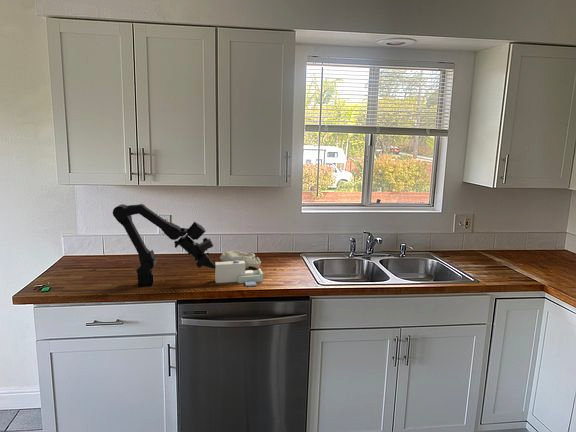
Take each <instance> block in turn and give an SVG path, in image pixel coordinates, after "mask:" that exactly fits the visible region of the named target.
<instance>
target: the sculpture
mask: <svg viewBox="0 0 576 432" xmlns="http://www.w3.org/2000/svg"><path fill="white" fill-rule="evenodd" d="M219 259H220V261H221V262H228V261H234V260H239V261H245V269H249V268H250V267H252V268H255V269H256V268H257V269H258V268H259V267H260V266H261V264H262V261H261V259H260V258H259V256H257V257H256V254H255V253H253V252H242V251H241V250H237V249H232V250H230V251H225V252H222V254H221V255H220V256H219Z"/></svg>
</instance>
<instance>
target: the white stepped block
mask: <svg viewBox="0 0 576 432" xmlns="http://www.w3.org/2000/svg"><path fill="white" fill-rule="evenodd" d="M214 265H215V267H216V268H215V269H214V271H215V272H214V274H215V277H214V278H215V279H214V281H215V283H216V284H223V283H224V284H225V283H238V276H254V273H253V271H254V270H252V269H250V270H249V269H246V268H245V261H239V260H234V261H228V262H224V261H215V262H214Z"/></svg>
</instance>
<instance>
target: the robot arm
mask: <svg viewBox="0 0 576 432" xmlns="http://www.w3.org/2000/svg"><path fill="white" fill-rule="evenodd" d="M134 215H140V216H141V217H144V218H145V220H147V221H149V222H151V223H152V224H153V225H155V226H157V228H159V229H161V231H162V233H164V235H165V236H166V237H168V238H169V239H170V240H171V241H174V248H175V249H177V248H178V246H179V247H181V248H182V249H183V250H184V251H185V252H186V253H187V255H189V256H191V257H192V258H194V260H195V261H196V262H195V263H196V267H197V268H199V269H200V268H202V267H206V268H210V269H212V270H215V268H216V267H215V263H213V261H212V260H211V258H210V254H209V252H207V253H206V251H208V250H209V249H211V248H213V247H214V244H213V242H212V240H211V238H207V237H203V236H202V235H204V234H205V233H206V229H205V228H204V227H203V226H202V224H199V223H198V222H196V221H193V222H192V224H191V225H190V226H189V227H188V228H185V227H180V226H179V225H177V224H176V223H173V222H170V221H167V220H166V219H164V218H163V217H161V216H160V215H158V214H157V213H155V212H154V211H152V209H150V208H149V207H147V206H145V204H144V203H139V204H129V205H127V204H122V203H121V204H119V205H118V206H115V207H114V208H113V209H112V217H114V218H115V220H116V221H117V222H118V224H120V225H122V227H123V228H124V230H125V232H126V234H127V236H128V237H129V239H130V241H131V243H132V245H133V246H134V248H135V250H136V251H137V254H138V255H137V256H138V258H139V259H138V260H139V263H140V265H139V266H138V267H137V268H136V274H137V287H138V288H139V287H153V285H154V283H155V274H154V273H153V268H154V267H155V265H156V264H157V261H158V260H157V255H156V254H155V252H154V249H151V250H150V249H148V248H147V246H146V244H145V242H144V241H143V238H142V237H141V235H140V233H139V231H138V229H137V228H136V226H135V223H134V221H133V217H132V216H134ZM201 237H203V239H202V242H200V243H199V242H195V240H196V241H197V240H199V238H201Z"/></svg>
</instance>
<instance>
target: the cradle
mask: <svg viewBox="0 0 576 432" xmlns="http://www.w3.org/2000/svg"><path fill="white" fill-rule="evenodd" d="M252 271H253V273H254V276H238V282H237V284H243V283H244V285H245V287H247V286H248V287H257V285H258V284H257V283H263V282H264V272H263V271H262V269H261V268H259V267H258V268H257V270H252ZM248 287H247V288H248Z"/></svg>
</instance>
